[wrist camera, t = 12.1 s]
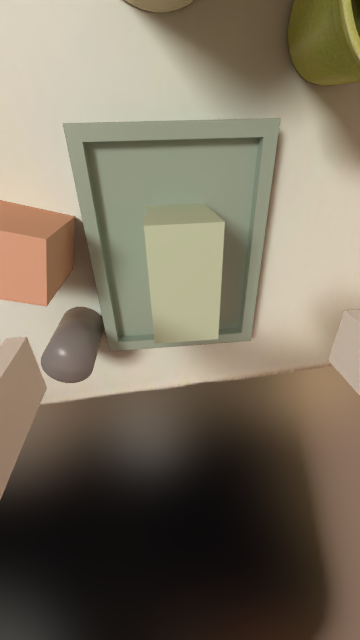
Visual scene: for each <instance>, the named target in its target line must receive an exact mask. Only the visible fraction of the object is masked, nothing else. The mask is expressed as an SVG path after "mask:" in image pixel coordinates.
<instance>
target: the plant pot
mask: <svg viewBox="0 0 360 640" xmlns="http://www.w3.org/2000/svg"><path fill="white" fill-rule="evenodd" d="M288 47H289V52H290V56H291V59H292V62H293V65H294V66H295V68H296V70H297V71H298V73H299V74H300V75H301V76H302V77H303V78H304V79H305V80H307V81H308V82H311V83H314V84H318V85H324V86H327V85H337V84H345V83H355V82H360V0H294V2H293V6H292V11H291V16H290V21H289V27H288Z"/></svg>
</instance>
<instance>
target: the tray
mask: <svg viewBox="0 0 360 640" xmlns="http://www.w3.org/2000/svg"><path fill="white" fill-rule="evenodd" d="M279 125H280V118H269V119H228V120H186V121H144V122H102V123H63V127H64V132H65V137H66V142H67V147H68V152H69V157H70V161H71V166H72V171H73V176H74V181H75V186H76V191H77V196H78V201H79V205H80V210H81V215H82V220H83V225H84V230H85V235H86V240H87V244H88V249H89V254H90V259H91V264H92V269H93V274H94V279H95V284H96V288H97V293H98V298H99V303H100V308H101V313H102V318H103V323H104V327H105V332H106V337H107V342H108V347H109V351H123V350H136V349H149V348H162V347H175V346H188V345H201V344H214V343H227V342H240V341H251V335H252V327H253V320H254V312H255V305H256V297H257V290H258V282H259V275H260V267H261V260H262V253H263V245H264V238H265V230H266V223H267V215H268V208H269V200H270V193H271V185H272V178H273V170H274V163H275V155H276V148H277V140H278V133H279ZM189 203H205V204H206V205H207V206H208V207H209V208H210V209H211V210H212V211H213V212H215V213H216V214H217V215H218V216H219V217H220V218H221V219H222V220H223V221H224V222H225V229H224V246H223V264H222V282H221V299H220V317H219V334H218V339H213V340H200V341H187V342H174V343H160V344H155V341H154V330H153V319H152V308H151V298H150V287H149V276H148V266H147V255H146V244H145V234H144V219H145V209H146V205H166V204H189Z"/></svg>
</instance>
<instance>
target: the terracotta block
mask: <svg viewBox="0 0 360 640" xmlns="http://www.w3.org/2000/svg"><path fill="white" fill-rule="evenodd" d="M74 222H75V216H71V215H66V214H62V213H57V212H52V211H48V210H43V209H39V208H34V207H29V206H25V205H20V204H16V203H11V202H6V201H2V200H0V299H2V300H8V301H15V302H21V303H28V304H34V305H41V306H47V305H48V304H49V302H50V301H51V300H52V298H53V297H54V295H55V294H56V292H57V291H58V289H59V288H60V286H61V285H62V284H63V282H64V281H65V279H66V278H67V276H68V275H69V273H70V272H71V271H72V269H73V247H74Z"/></svg>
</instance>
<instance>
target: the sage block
mask: <svg viewBox="0 0 360 640" xmlns="http://www.w3.org/2000/svg"><path fill="white" fill-rule="evenodd" d="M224 229H225V222H224V221H223V220H222V219H221V218H220V217H219V216H218V215H217V214H216V213H215V212H213V211H212V210H211V209H210V208H209V207H208V206H207V205H206V204H205V203H189V204H166V205H146V209H145V219H144V234H145V244H146V255H147V266H148V276H149V287H150V298H151V308H152V319H153V330H154V341H155V344H160V343H174V342H187V341H200V340H213V339H218V334H219V317H220V299H221V282H222V264H223V246H224Z"/></svg>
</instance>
